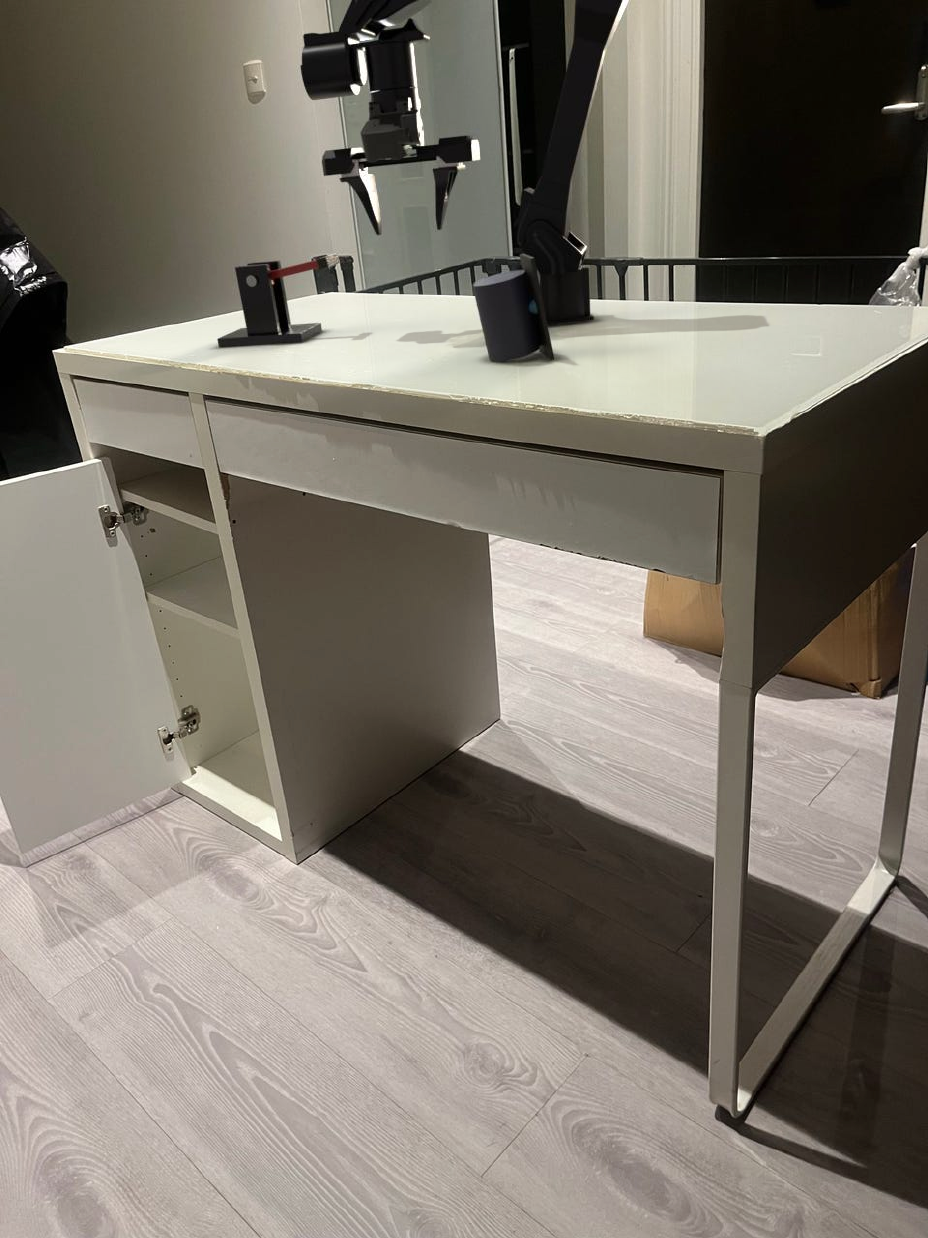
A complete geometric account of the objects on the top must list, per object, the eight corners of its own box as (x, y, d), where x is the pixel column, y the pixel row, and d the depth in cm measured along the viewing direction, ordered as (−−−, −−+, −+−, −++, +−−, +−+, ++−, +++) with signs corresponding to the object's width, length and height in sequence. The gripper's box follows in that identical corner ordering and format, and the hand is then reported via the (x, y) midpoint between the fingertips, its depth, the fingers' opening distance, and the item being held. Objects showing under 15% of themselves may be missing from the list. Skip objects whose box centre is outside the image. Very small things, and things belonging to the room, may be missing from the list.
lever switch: (322, 331, 129) (310, 256, 124) (302, 342, 122) (289, 263, 117) (242, 336, 131) (228, 263, 127) (218, 347, 124) (202, 270, 120)
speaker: (560, 346, 101) (544, 247, 97) (554, 360, 97) (538, 256, 92) (493, 357, 103) (475, 260, 99) (484, 371, 99) (464, 270, 94)
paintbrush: (341, 267, 123) (336, 248, 122) (329, 271, 118) (324, 252, 117) (261, 286, 126) (255, 268, 125) (246, 292, 122) (240, 273, 121)
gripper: (296, 97, 105) (318, 244, 112) (456, 77, 101) (468, 232, 108) (328, 100, 114) (346, 236, 121) (475, 82, 110) (486, 224, 117)
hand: (409, 232), depth 117 cm, fingers open, 8 cm apart
